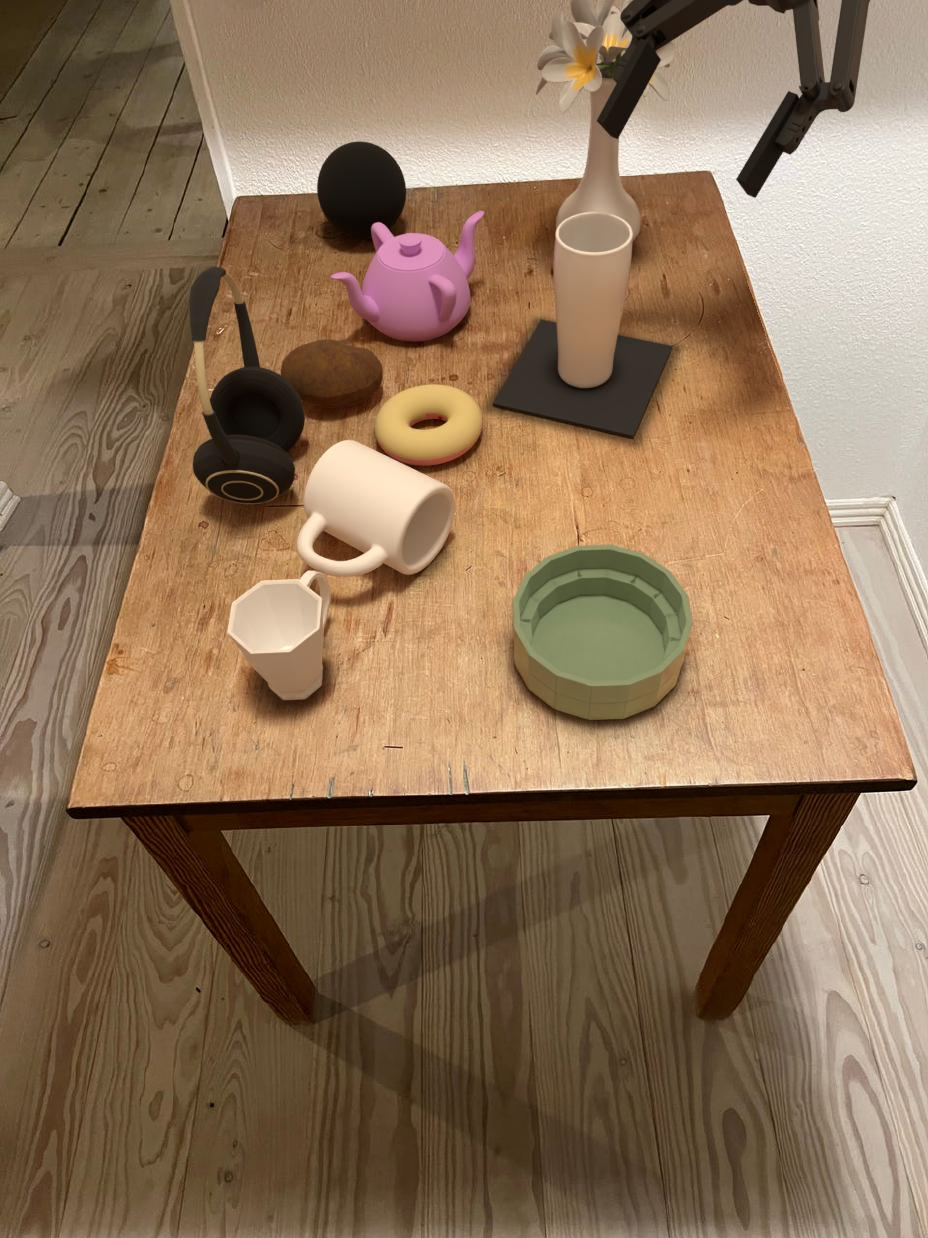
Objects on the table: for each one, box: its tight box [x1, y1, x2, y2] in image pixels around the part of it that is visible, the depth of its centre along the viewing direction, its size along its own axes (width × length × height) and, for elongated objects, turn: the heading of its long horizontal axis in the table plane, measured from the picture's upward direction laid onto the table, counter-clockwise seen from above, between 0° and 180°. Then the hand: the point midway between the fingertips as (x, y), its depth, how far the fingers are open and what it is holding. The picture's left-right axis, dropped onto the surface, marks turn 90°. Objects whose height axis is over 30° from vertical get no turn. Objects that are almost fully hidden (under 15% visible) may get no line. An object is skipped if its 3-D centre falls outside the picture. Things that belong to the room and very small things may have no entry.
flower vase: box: [535, 0, 677, 243], centre depth 96 cm, size 13×18×25 cm
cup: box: [226, 570, 332, 701], centre depth 71 cm, size 7×10×8 cm
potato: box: [280, 338, 384, 409], centre depth 90 cm, size 7×10×6 cm
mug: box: [296, 439, 457, 578], centre depth 77 cm, size 12×10×8 cm
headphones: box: [188, 266, 306, 505], centre depth 79 cm, size 9×15×20 cm, turn 179°
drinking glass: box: [552, 212, 634, 388], centre depth 87 cm, size 7×7×15 cm
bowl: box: [512, 544, 694, 721], centre depth 71 cm, size 13×13×5 cm
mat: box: [492, 319, 673, 440], centre depth 93 cm, size 14×14×1 cm
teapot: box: [330, 210, 485, 343], centre depth 97 cm, size 12×14×9 cm
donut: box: [374, 383, 484, 466], centre depth 88 cm, size 10×5×9 cm
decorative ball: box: [316, 141, 407, 240], centre depth 107 cm, size 10×10×10 cm
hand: (673, 158), depth 73 cm, fingers open, 13 cm apart
